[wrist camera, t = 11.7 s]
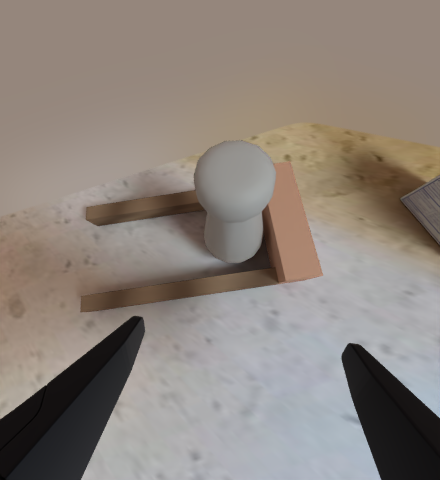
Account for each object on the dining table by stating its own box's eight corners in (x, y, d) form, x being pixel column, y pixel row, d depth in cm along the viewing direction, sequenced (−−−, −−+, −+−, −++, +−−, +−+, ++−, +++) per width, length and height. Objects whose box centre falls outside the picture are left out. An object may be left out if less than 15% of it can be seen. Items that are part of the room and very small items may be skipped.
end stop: (274, 284, 20) (286, 281, 16) (254, 190, 24) (259, 166, 19) (303, 280, 20) (323, 275, 16) (279, 186, 24) (290, 161, 19)
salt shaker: (213, 211, 23) (192, 110, 11) (263, 221, 22) (303, 125, 10) (201, 260, 22) (159, 210, 9) (254, 272, 21) (287, 235, 8)
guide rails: (94, 311, 21) (80, 312, 19) (98, 214, 24) (86, 207, 22) (274, 284, 20) (278, 283, 18) (254, 190, 24) (256, 180, 22)
